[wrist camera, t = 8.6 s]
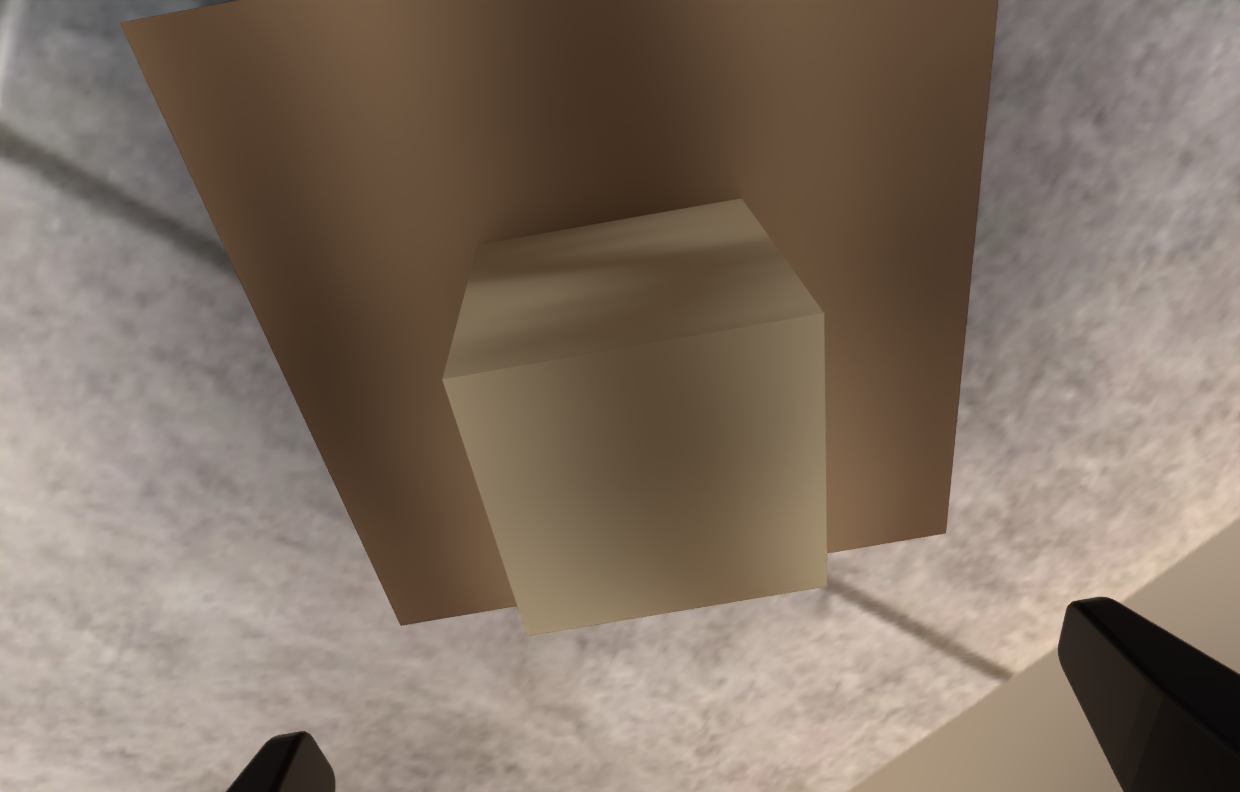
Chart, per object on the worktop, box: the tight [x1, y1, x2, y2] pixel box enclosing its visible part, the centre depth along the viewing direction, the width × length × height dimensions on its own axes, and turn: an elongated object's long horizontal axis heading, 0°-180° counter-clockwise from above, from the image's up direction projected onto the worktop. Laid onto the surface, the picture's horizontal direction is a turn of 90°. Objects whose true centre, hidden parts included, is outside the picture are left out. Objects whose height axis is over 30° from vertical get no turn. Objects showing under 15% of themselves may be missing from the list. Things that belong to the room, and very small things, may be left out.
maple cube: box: [442, 198, 827, 636], centre depth 13 cm, size 5×5×5 cm
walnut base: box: [120, 0, 998, 626], centre depth 16 cm, size 14×14×3 cm
